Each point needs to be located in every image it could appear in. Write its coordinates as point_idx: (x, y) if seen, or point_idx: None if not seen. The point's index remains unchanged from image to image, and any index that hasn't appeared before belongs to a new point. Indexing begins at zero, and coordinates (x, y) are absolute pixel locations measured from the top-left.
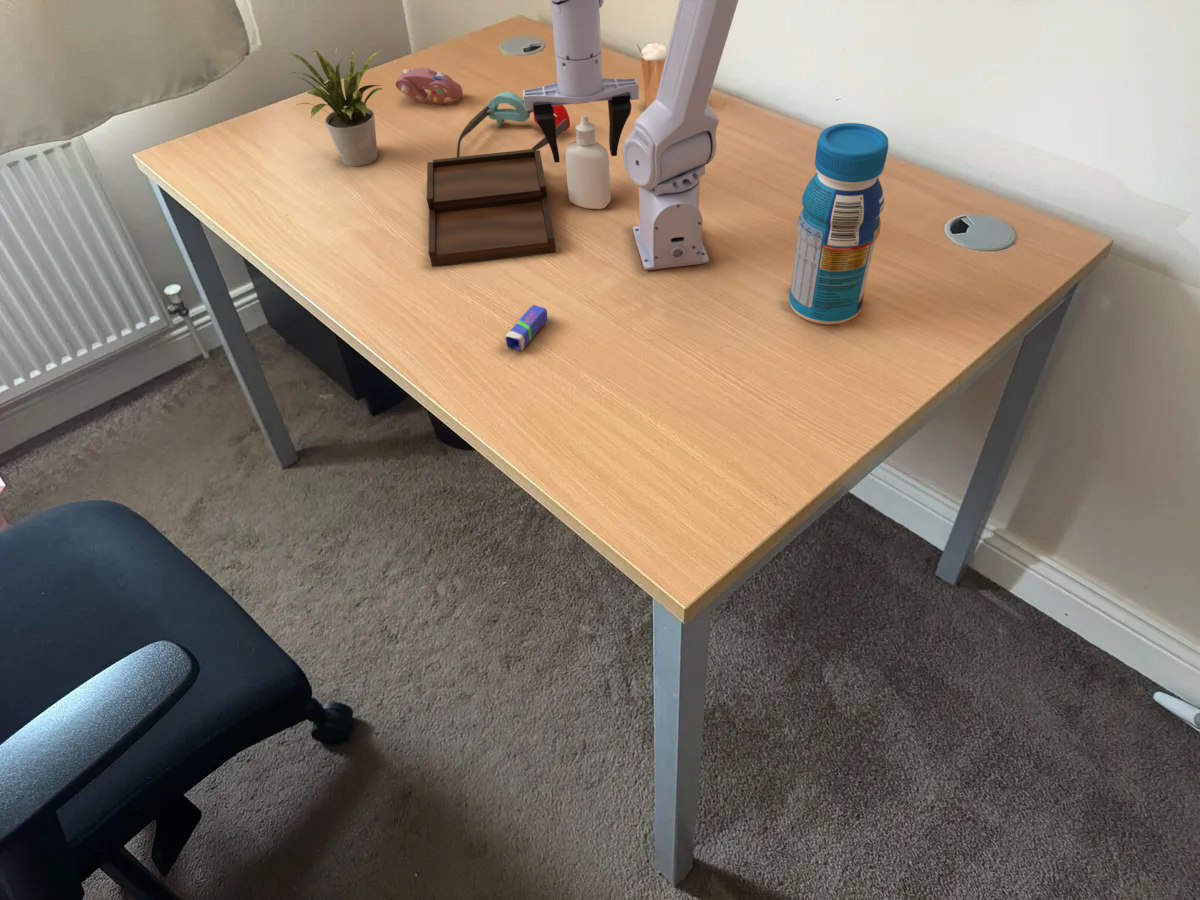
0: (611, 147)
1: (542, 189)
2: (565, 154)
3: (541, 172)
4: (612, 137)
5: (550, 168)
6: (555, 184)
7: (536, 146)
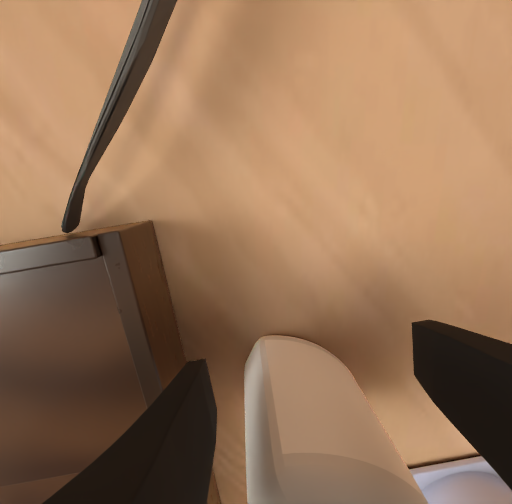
0: (437, 396)
1: None
2: (247, 502)
3: (154, 392)
4: (484, 452)
5: (172, 180)
6: (199, 276)
7: (98, 147)
